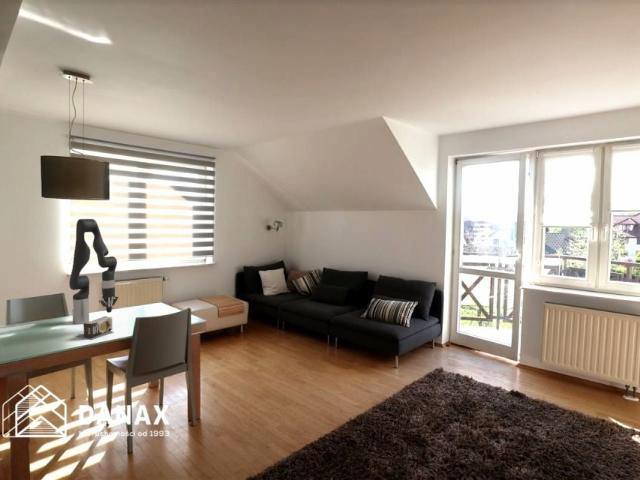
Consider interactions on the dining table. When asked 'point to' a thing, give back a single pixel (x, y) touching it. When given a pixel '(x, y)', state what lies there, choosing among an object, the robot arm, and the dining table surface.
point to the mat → (96, 336)
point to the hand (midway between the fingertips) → (109, 312)
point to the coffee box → (97, 327)
